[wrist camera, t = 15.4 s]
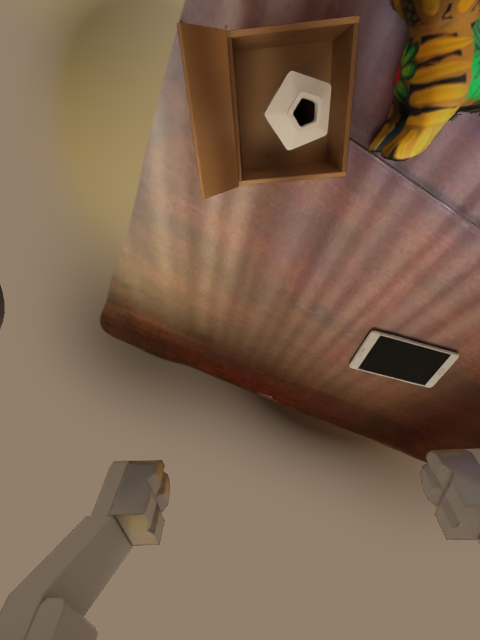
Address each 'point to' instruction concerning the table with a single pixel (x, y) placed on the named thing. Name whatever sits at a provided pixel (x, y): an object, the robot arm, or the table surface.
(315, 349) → the table surface
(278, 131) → the perfume bottle
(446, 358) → the smartphone
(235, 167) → the carton flap
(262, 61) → the carton
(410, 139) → the multicolored animal figure
